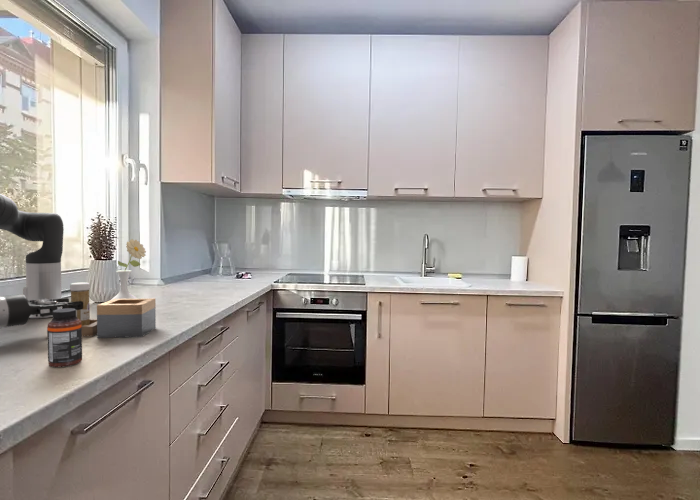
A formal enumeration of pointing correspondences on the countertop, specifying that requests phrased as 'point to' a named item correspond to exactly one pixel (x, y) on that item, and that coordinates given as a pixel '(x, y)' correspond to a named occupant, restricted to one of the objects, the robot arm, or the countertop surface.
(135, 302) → the grey wooden square box
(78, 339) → the supplement bottle
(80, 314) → the seasoning jar
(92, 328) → the walnut stand
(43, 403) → the countertop surface
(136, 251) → the flower in vase
